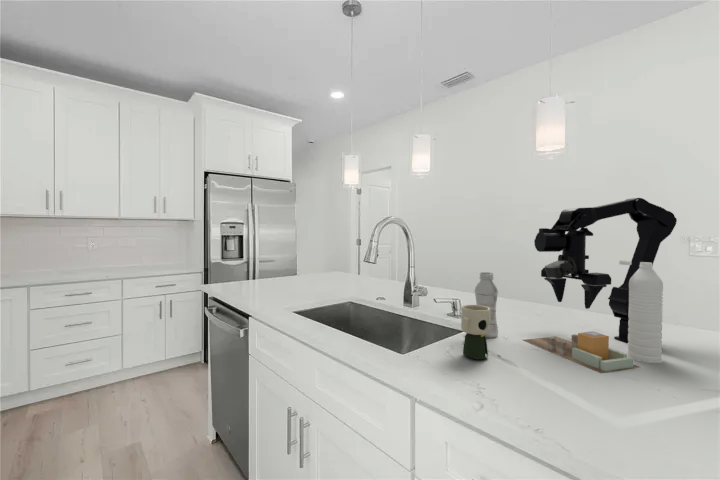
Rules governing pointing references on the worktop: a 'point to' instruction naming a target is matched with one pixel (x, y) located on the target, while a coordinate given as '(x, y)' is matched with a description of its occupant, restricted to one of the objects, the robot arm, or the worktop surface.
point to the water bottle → (645, 314)
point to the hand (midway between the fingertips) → (572, 305)
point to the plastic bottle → (488, 300)
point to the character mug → (475, 330)
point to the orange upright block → (594, 343)
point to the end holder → (615, 360)
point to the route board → (565, 349)
